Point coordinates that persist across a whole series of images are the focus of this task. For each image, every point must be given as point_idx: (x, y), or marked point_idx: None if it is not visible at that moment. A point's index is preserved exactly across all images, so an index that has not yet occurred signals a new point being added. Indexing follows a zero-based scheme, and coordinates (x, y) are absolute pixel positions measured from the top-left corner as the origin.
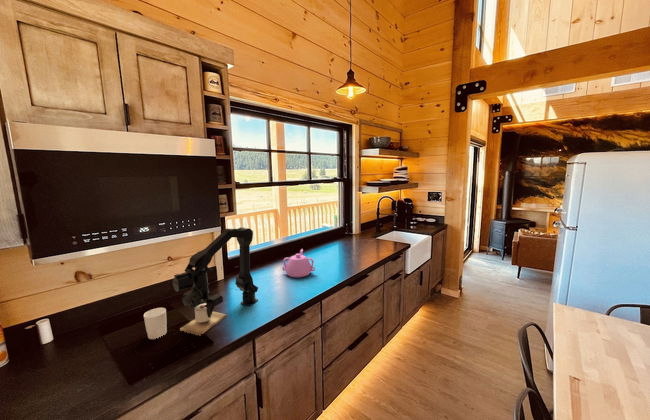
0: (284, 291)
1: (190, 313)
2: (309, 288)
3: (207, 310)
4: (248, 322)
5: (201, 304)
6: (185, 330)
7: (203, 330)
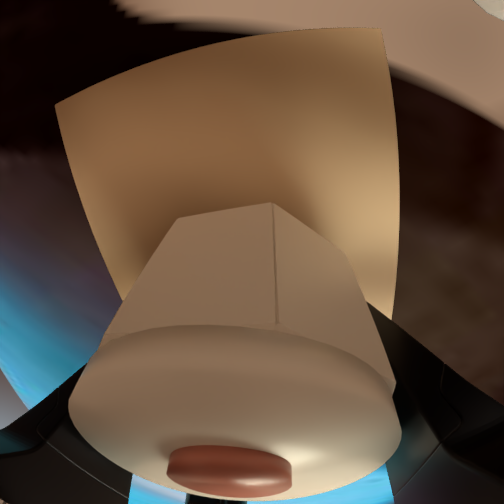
0: (179, 498)
1: (498, 297)
2: (138, 499)
3: (56, 408)
4: (34, 369)
5: (343, 479)
6: (275, 34)
7: (73, 163)
